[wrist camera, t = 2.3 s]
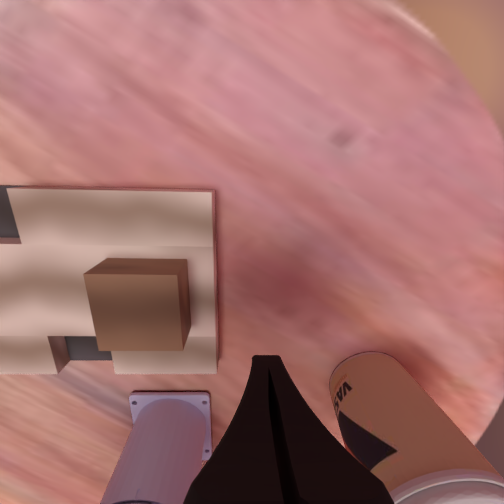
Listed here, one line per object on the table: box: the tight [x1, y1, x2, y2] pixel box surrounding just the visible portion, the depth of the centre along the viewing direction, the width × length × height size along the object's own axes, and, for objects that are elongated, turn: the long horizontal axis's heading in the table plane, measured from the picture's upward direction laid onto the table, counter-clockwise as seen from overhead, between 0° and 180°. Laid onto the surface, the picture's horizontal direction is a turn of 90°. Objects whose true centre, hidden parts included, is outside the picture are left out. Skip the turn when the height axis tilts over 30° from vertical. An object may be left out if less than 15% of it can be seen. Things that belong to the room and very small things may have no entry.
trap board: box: [0, 186, 219, 374], centre depth 21 cm, size 16×26×2 cm, turn 89°
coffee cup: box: [329, 352, 504, 504], centre depth 21 cm, size 9×9×12 cm
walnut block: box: [83, 258, 191, 351], centre depth 19 cm, size 6×6×3 cm
